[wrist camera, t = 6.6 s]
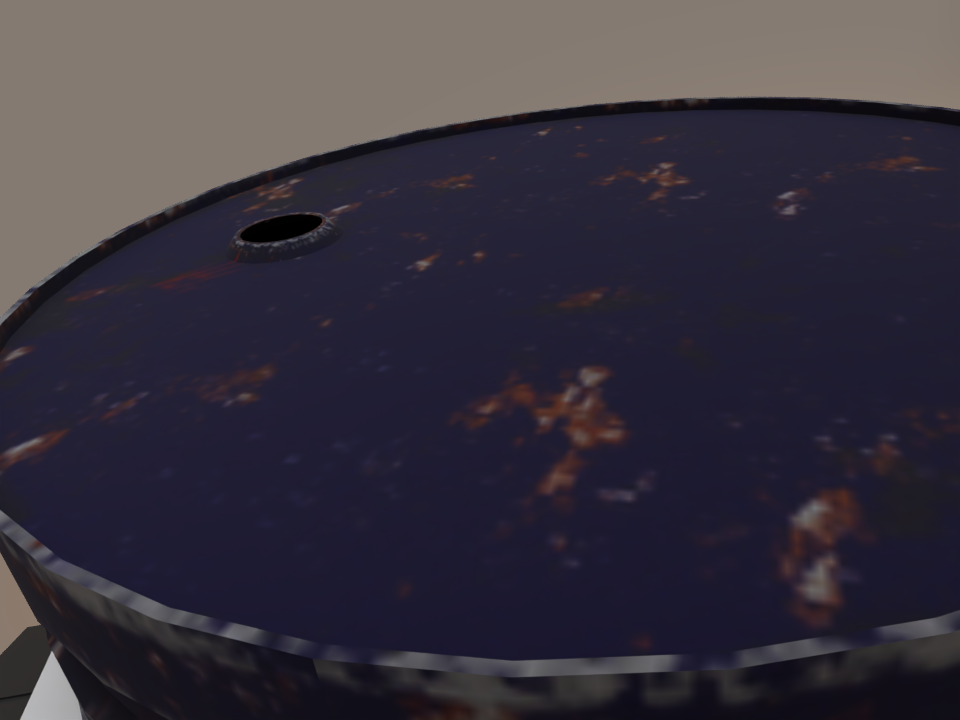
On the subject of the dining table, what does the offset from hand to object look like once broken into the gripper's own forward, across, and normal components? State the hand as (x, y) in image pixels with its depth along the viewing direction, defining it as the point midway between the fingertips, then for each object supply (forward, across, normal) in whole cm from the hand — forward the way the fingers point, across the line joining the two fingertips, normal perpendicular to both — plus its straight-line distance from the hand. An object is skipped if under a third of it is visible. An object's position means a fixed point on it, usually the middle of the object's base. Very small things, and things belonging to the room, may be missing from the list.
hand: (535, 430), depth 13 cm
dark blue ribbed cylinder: (-4, 0, -10) cm, 11 cm away
